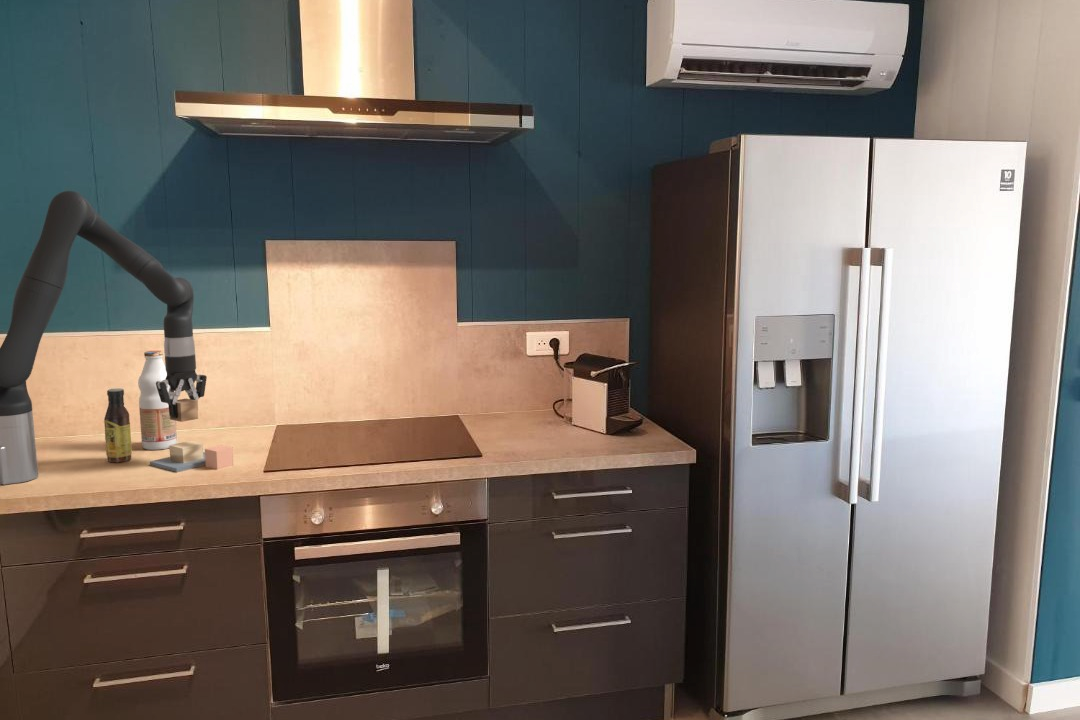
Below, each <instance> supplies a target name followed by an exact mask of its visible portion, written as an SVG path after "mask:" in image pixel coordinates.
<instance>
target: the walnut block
mask: <svg viewBox="0 0 1080 720" xmlns="http://www.w3.org/2000/svg"><path fill="white" fill-rule="evenodd" d="M198 403H199V402H198ZM198 403H197V400H192V399H190V398H182V399H181V398H180V399H178V400H177V403H176V404H177V408H178V418H172V417H171V416H170V420H175V421H176V422H179V423H180V422H181V423H183V422H188V421H189V422H190V421H194V420H199V404H198Z"/></svg>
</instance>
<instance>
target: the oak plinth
mask: <svg viewBox="0 0 1080 720" xmlns="http://www.w3.org/2000/svg"><path fill="white" fill-rule="evenodd" d="M168 449H169V457H170V460H173V461H177V462H181V463H187V462H190V461H194V460H198V459H202V458H203V452H204V446H203V443H200V442H195V441H191V440H187V441H182V442H177V444H173V445H169V448H168Z"/></svg>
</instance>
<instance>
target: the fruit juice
mask: <svg viewBox="0 0 1080 720" xmlns="http://www.w3.org/2000/svg"><path fill="white" fill-rule="evenodd" d="M143 356H144V358H145V361H144V364H143V367H142V369H141V371H142V372H141V373H140V375H139V377H138V380H137V381H138V382H137V385H138V389H139V392H140V394H139V397H138V409H139V410H138V411H139V421H140V436H141V446H142V448H143V449H144V450H147V451H148V450H150V451H158V450H167V449H169V445H173V444H178V433H177V421H175V420H170V415H169V405H168V404H167V403H164V402H161V400H160V396H159V393H158V390H157V386H156V382H157V381H160V382H161V381H163V380H165V379H166V376H167V372H166V367H165V361H164V360H163V356H164V350H146V351H144V353H143ZM167 386H168V387H167V391H168V392H169V388H170V386H169V385H168V384H167Z"/></svg>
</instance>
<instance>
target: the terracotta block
mask: <svg viewBox="0 0 1080 720" xmlns="http://www.w3.org/2000/svg"><path fill="white" fill-rule="evenodd" d="M204 452H205V462H206V465H205V467H207V468H209V469H213V470H217V471H218V470H222V469H226V468H228V467H233V466H234V449H233V447H231V446H227V445H223V444H219V445H215V446H210V447H207V448H206V447H205V448H204Z"/></svg>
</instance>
